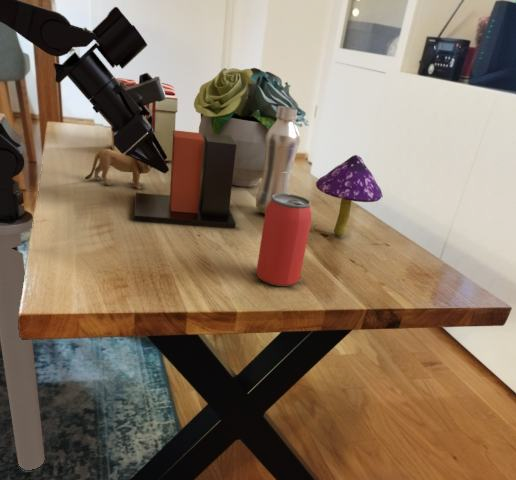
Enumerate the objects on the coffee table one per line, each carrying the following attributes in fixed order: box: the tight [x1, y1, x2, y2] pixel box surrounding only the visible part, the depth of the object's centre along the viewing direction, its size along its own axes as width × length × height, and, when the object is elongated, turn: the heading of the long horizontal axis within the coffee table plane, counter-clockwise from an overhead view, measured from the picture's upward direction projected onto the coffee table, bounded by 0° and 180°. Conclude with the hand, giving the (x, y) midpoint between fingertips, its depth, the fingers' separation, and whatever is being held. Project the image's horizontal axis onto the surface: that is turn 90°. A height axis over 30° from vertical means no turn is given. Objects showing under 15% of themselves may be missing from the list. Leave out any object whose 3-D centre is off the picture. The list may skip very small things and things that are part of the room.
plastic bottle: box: [255, 106, 301, 215], centre depth 98 cm, size 6×7×20 cm
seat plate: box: [133, 133, 237, 229], centre depth 93 cm, size 18×14×14 cm
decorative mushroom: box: [315, 154, 384, 237], centre depth 94 cm, size 12×12×15 cm
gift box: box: [110, 77, 179, 162], centre depth 129 cm, size 17×18×17 cm
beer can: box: [255, 193, 312, 287], centre depth 73 cm, size 7×7×12 cm
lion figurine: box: [84, 148, 153, 190], centre depth 104 cm, size 15×5×9 cm, turn 103°
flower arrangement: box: [193, 67, 310, 188], centre depth 115 cm, size 25×25×24 cm
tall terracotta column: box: [169, 129, 204, 213], centre depth 93 cm, size 5×6×13 cm
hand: (166, 165), depth 91 cm, fingers open, 9 cm apart
